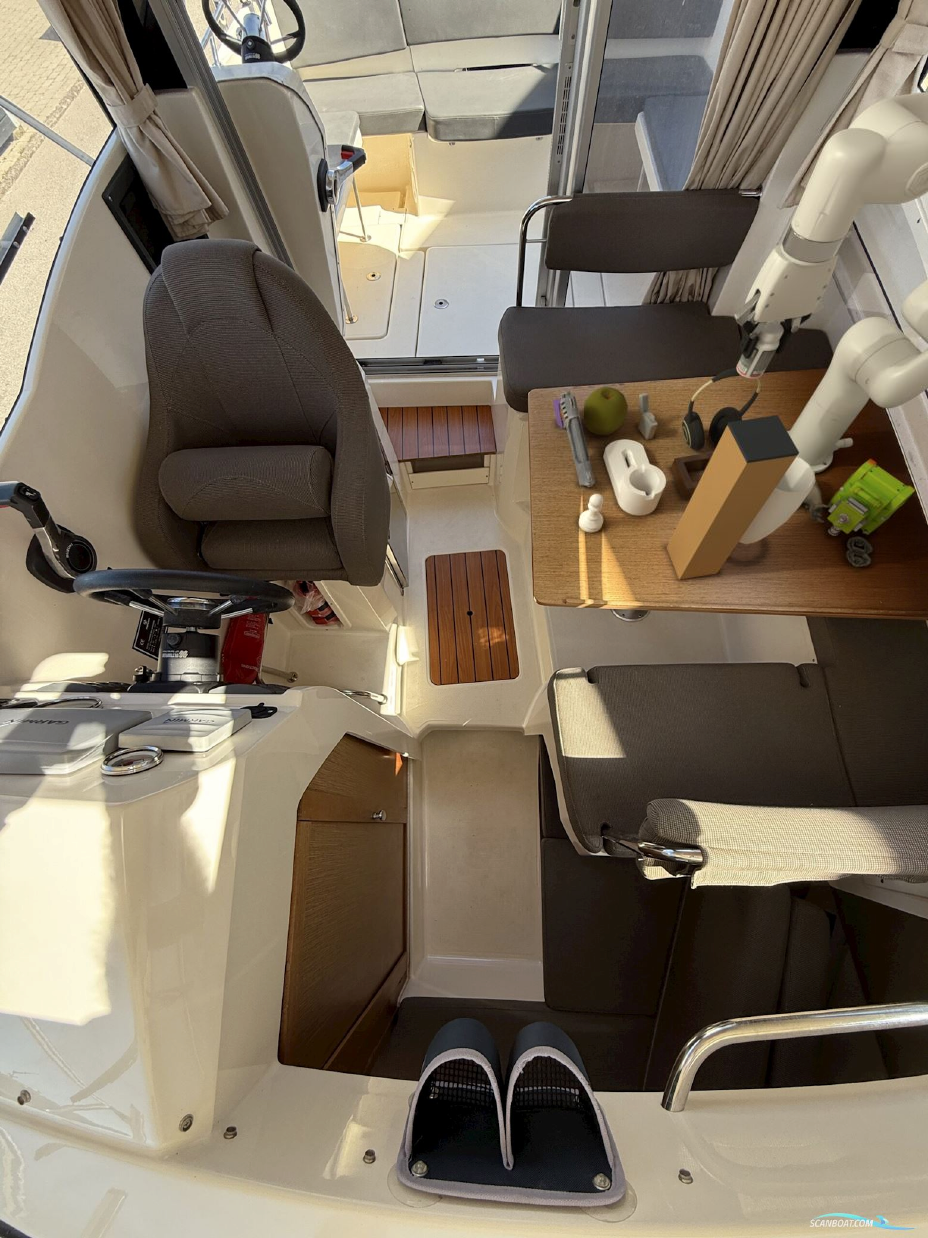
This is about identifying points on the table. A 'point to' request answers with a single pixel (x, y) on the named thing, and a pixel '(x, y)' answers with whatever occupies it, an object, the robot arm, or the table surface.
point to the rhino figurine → (815, 503)
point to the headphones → (694, 425)
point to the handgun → (574, 436)
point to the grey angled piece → (646, 417)
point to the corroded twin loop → (859, 551)
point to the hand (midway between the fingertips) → (760, 349)
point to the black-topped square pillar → (730, 494)
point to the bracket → (633, 477)
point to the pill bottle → (761, 351)
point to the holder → (681, 474)
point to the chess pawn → (592, 515)
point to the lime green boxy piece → (866, 500)
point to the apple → (605, 410)
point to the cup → (782, 501)
